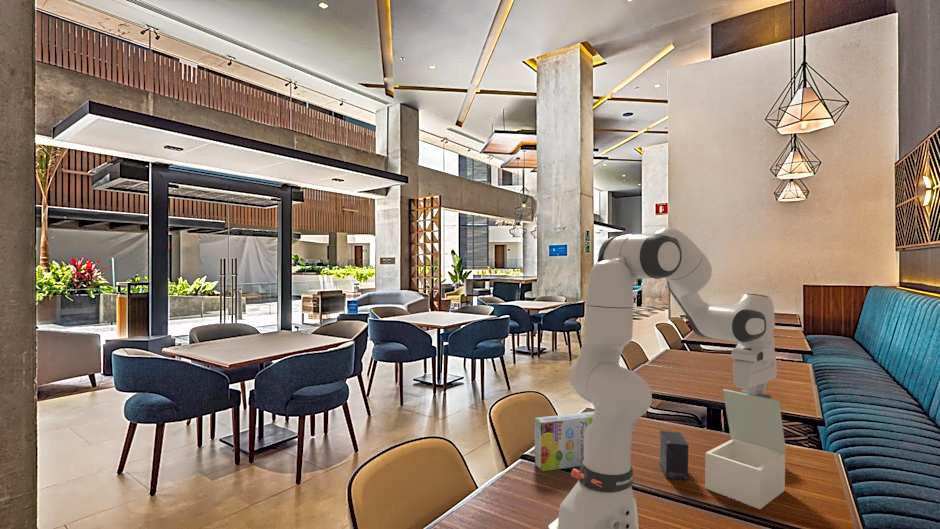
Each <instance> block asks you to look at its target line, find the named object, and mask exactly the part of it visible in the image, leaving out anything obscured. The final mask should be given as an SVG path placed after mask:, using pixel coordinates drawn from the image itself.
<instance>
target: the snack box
mask: <svg viewBox="0 0 940 529" xmlns="http://www.w3.org/2000/svg"><path fill="white" fill-rule="evenodd" d="M593 417H594V411H587V412H577V413H567V414H560V415H559V414H558V415H549V416H539V417H534V418H533V419H534V420H533V422H534V426H533V427H534V465H535V466H536V467H537V468H538V469H539V470H540V471H541V472H546V471H547V472H548V471H554V470H561V469H562V470H563V469H569V468H578V467H581V465H582V462H583V460H584V435H583V434H584V430H585V429H586V427H587V426H589V425H590V424H591V423H592V420H593Z"/></svg>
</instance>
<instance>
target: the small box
mask: <svg viewBox="0 0 940 529" xmlns="http://www.w3.org/2000/svg"><path fill="white" fill-rule="evenodd" d="M659 434H660V435H659V440H660V441H659V450H660V451H659V466H660V468H661V470H662V472H663V474H664V477H665V478H666V479H674V480H683V481H685V480H686V481H688V479H689V444H688V442H687V441H686V439H685V438H684V436H683V434H682V433H681V432H678V431H667V430H660V431H659Z"/></svg>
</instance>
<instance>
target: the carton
mask: <svg viewBox="0 0 940 529" xmlns="http://www.w3.org/2000/svg"><path fill="white" fill-rule="evenodd" d="M704 456H705V457H704V460H705V461H704V462H705V463H704V464H705V465H704V466H705V467H704V468H705V469H704V471H705V473H704V476H705V477H704V484H705V485H704V488H705V489H706V490H709V491H710V492H713V493H716V494H718V495H722V496H724V497H726V496H727V498H729V499H731V498H732V500H734V499H735V500H734V501H737V502H739V501H740V503H743V504H745V505H747V506H750V507H753V508H756V509H758V510H761V509H763V508H764V507H765V506H766V505H768V504H769V503H770V502H772V501H773V500H774V499H775V498H777V497H779V496H780V495H782V493H784V492H785V490H786V482H785V481H786V454H784V453H780V452H774V451H771V450H768V449H764V448H761V447H757V446H754V445H750V444H747V443H743V442H740V441H736V440H733V439H732V438H730V440H728V441H726V442H723V443H722V444H720V445H718V446H716V447H713V448H712V449H710V450H707V451H706V452H705V454H704Z"/></svg>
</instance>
